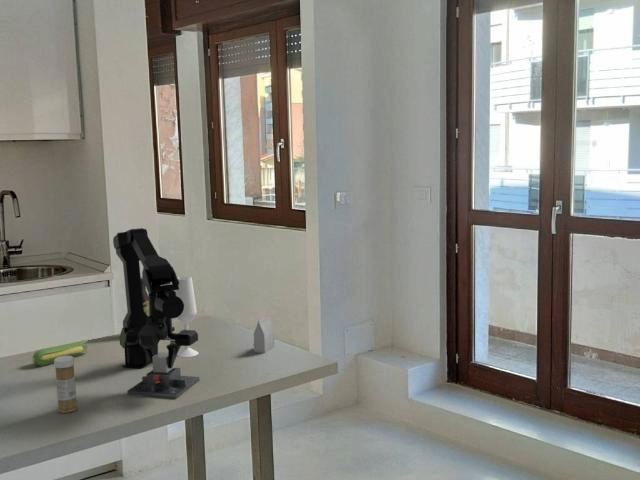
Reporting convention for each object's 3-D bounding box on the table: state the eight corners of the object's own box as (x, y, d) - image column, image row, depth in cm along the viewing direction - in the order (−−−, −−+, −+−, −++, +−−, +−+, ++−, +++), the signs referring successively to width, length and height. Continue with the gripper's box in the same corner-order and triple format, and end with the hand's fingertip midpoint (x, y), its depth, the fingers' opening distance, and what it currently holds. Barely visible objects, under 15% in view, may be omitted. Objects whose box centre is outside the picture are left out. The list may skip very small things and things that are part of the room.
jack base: (127, 394, 186) (126, 377, 186) (153, 376, 200) (152, 361, 199) (176, 398, 183) (175, 381, 182) (199, 380, 196) (198, 364, 195)
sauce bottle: (146, 337, 240) (143, 279, 237) (129, 337, 241) (126, 279, 238) (154, 332, 246) (151, 275, 243) (138, 331, 247) (134, 275, 244)
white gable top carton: (274, 347, 226) (273, 316, 224) (264, 353, 220) (263, 321, 218) (264, 346, 227) (263, 315, 226) (254, 352, 221) (253, 320, 220)
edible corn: (27, 352, 211) (34, 350, 209) (86, 338, 227) (93, 337, 224) (30, 369, 211) (38, 367, 208) (89, 354, 227) (97, 353, 224)
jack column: (153, 385, 189) (151, 356, 188) (160, 379, 193) (159, 352, 192) (167, 386, 188) (166, 357, 187) (174, 380, 192) (173, 353, 191)
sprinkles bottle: (71, 405, 179) (68, 353, 177) (81, 409, 176) (77, 357, 174) (54, 410, 176) (50, 358, 174) (63, 415, 173) (59, 361, 171)
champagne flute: (194, 357, 217) (190, 280, 213) (173, 356, 218) (169, 279, 214) (201, 350, 223) (198, 275, 220) (181, 350, 224) (177, 275, 221)
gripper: (112, 316, 183) (116, 374, 185) (178, 319, 178) (181, 379, 180) (134, 306, 193) (137, 361, 196) (197, 309, 189) (200, 366, 191)
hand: (163, 367), depth 190 cm, fingers open, 4 cm apart
